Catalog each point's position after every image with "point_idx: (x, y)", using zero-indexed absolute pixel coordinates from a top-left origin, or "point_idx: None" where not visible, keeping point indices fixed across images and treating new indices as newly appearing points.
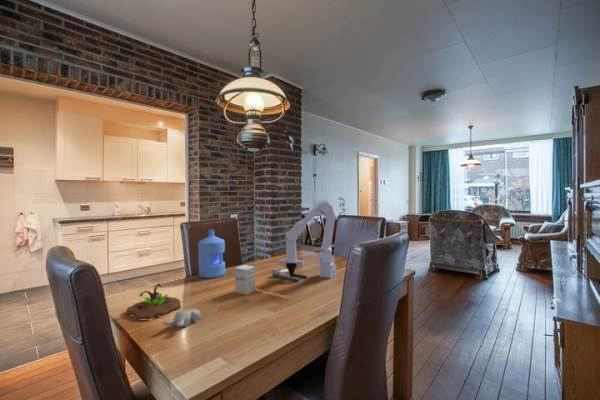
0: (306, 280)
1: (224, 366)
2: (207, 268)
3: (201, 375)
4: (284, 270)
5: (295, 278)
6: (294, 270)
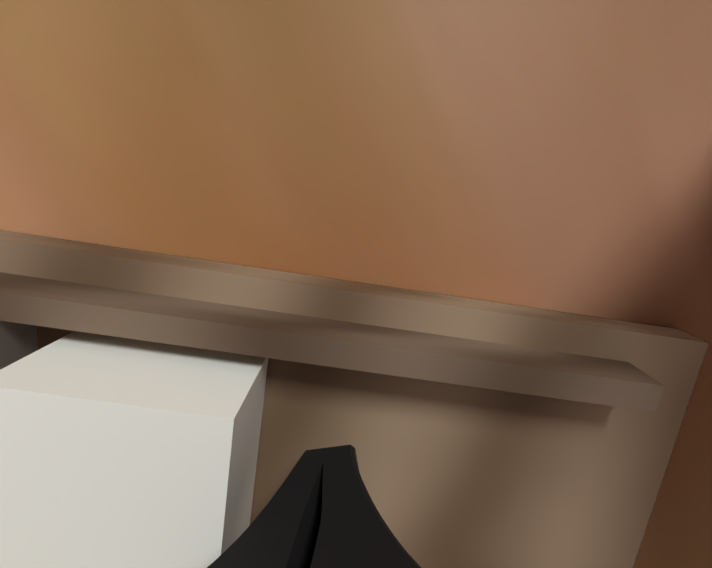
0: (663, 476)
1: None
2: None
3: None
4: (78, 535)
5: (413, 453)
6: (375, 518)
